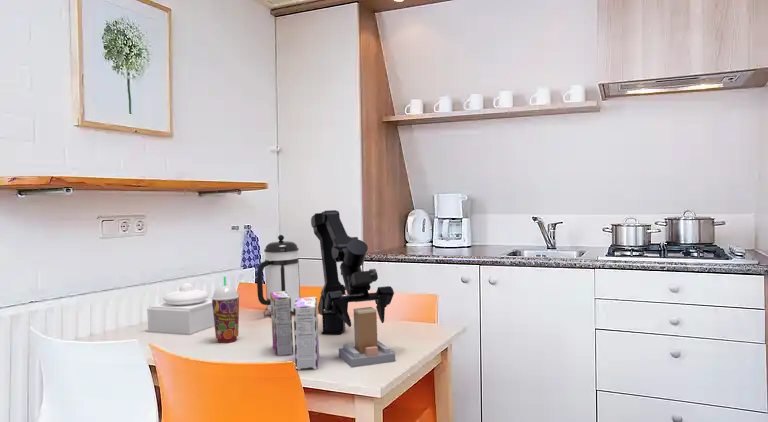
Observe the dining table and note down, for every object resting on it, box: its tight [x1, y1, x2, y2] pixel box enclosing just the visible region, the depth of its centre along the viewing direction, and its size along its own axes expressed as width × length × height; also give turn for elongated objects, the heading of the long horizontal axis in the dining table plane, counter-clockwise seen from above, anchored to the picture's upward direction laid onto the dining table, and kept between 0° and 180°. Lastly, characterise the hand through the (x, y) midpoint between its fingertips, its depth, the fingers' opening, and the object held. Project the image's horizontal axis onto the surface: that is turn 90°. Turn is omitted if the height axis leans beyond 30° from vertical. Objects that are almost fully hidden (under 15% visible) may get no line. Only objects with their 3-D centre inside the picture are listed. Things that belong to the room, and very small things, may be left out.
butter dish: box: [146, 282, 215, 336], centre depth 206 cm, size 18×18×16 cm
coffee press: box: [256, 234, 301, 316], centre depth 222 cm, size 17×16×30 cm
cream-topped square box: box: [353, 306, 378, 354], centre depth 159 cm, size 4×5×11 cm
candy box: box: [293, 296, 320, 371], centre depth 157 cm, size 14×6×16 cm, turn 5°
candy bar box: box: [270, 291, 294, 357], centre depth 170 cm, size 11×5×16 cm, turn 17°
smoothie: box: [211, 276, 240, 344], centre depth 185 cm, size 8×8×20 cm
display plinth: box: [338, 339, 396, 368], centre depth 159 cm, size 12×12×4 cm
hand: (366, 324), depth 158 cm, fingers open, 9 cm apart
